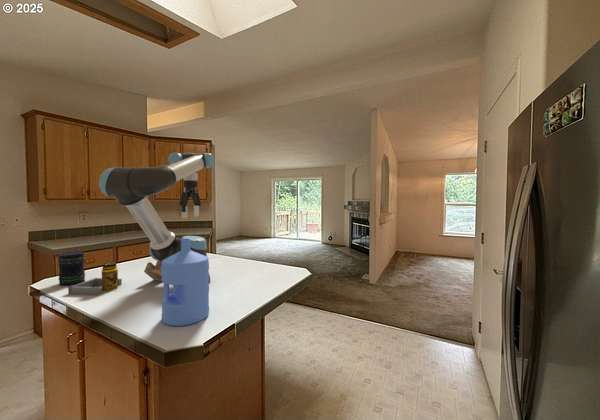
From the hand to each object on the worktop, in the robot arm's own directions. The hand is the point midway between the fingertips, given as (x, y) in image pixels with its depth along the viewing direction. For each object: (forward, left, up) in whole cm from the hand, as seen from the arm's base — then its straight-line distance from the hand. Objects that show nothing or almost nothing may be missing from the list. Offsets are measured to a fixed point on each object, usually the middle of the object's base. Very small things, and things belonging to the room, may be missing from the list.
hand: (190, 217), depth 150 cm
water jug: (-27, +56, -32) cm, 70 cm away
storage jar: (+48, +26, -32) cm, 63 cm away
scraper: (+8, +21, -28) cm, 36 cm away
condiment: (+24, +32, -32) cm, 51 cm away
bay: (+28, +33, -32) cm, 54 cm away
